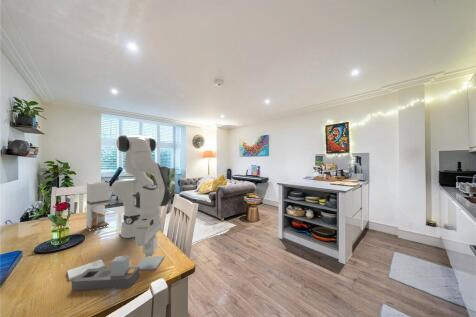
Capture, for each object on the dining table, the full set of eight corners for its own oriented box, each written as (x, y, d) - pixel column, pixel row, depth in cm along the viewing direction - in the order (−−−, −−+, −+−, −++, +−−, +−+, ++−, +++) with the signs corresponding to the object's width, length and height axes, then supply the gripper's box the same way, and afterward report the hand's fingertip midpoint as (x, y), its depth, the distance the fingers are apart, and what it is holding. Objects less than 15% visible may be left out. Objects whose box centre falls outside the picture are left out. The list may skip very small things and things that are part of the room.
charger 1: (117, 270, 74) (117, 256, 74) (129, 269, 74) (129, 255, 74) (110, 276, 70) (111, 261, 70) (123, 275, 70) (123, 261, 70)
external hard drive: (67, 273, 78) (101, 261, 87) (68, 282, 73) (105, 268, 82) (67, 270, 78) (101, 258, 87) (68, 278, 73) (105, 264, 82)
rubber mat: (144, 258, 89) (144, 257, 89) (163, 257, 90) (163, 256, 90) (134, 270, 79) (134, 269, 79) (156, 269, 80) (156, 268, 80)
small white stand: (90, 231, 125) (90, 183, 126) (86, 228, 132) (87, 182, 133) (108, 226, 135) (109, 182, 135) (104, 223, 141) (104, 181, 142)
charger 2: (146, 252, 86) (146, 236, 87) (156, 252, 87) (156, 236, 87) (142, 257, 82) (143, 240, 83) (153, 256, 83) (153, 240, 83)
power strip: (88, 277, 75) (88, 267, 75) (139, 274, 76) (139, 265, 77) (71, 290, 67) (71, 279, 67) (129, 287, 68) (129, 277, 69)
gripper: (152, 212, 95) (152, 237, 95) (132, 225, 75) (132, 257, 74) (164, 211, 96) (164, 236, 95) (147, 225, 75) (147, 256, 75)
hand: (150, 245), depth 85 cm, fingers closed on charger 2, 4 cm apart
